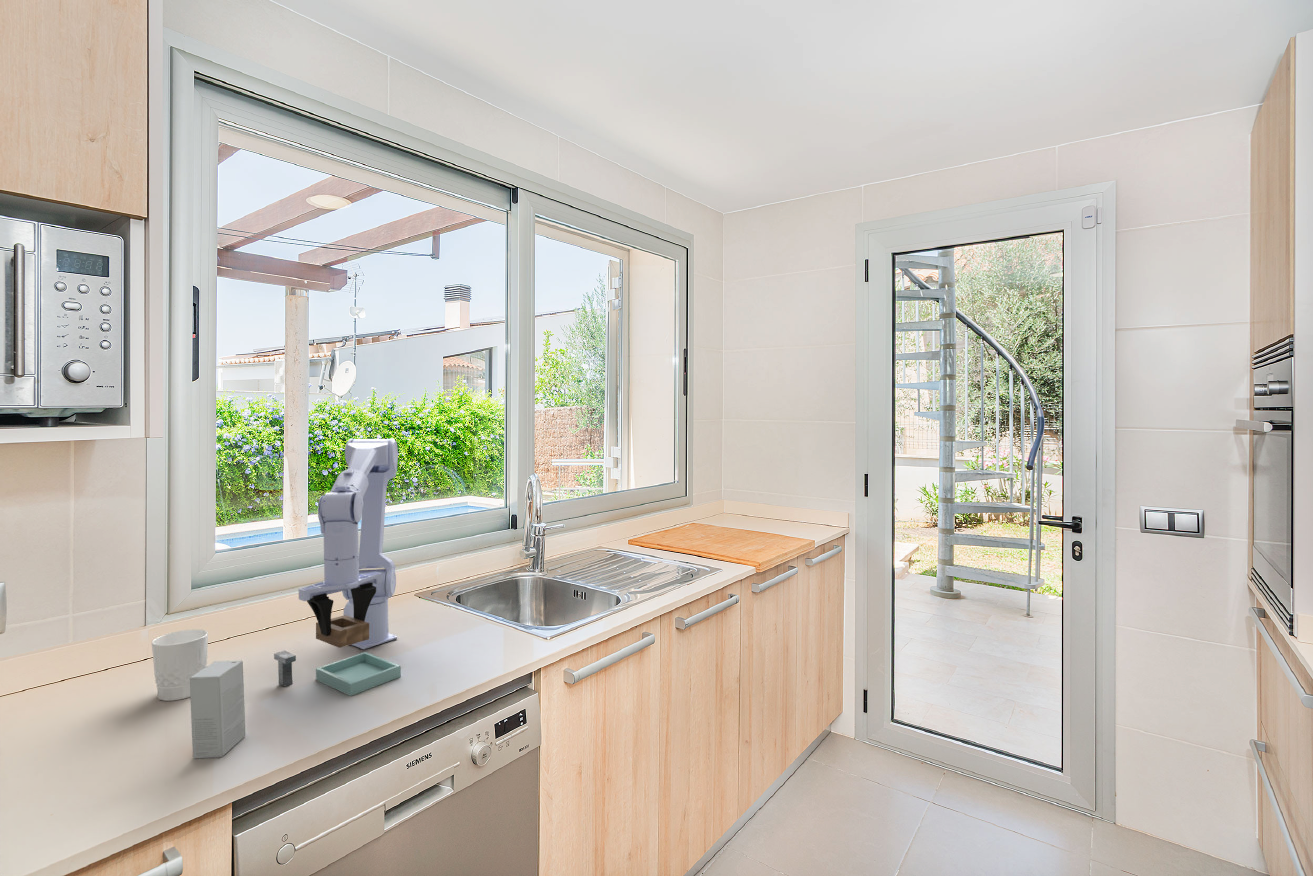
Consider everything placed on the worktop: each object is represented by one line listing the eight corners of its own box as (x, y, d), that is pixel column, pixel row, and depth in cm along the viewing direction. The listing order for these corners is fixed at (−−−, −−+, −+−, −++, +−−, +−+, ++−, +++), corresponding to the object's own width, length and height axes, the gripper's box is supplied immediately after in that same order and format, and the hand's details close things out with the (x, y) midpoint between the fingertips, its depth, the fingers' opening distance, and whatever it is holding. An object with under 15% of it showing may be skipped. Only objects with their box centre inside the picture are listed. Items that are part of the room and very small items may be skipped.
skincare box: (216, 737, 95) (214, 660, 94) (246, 736, 95) (244, 659, 94) (190, 759, 89) (188, 677, 88) (222, 758, 89) (219, 676, 88)
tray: (316, 679, 115) (315, 668, 115) (365, 662, 123) (365, 652, 123) (350, 696, 108) (350, 684, 108) (400, 676, 116) (400, 665, 116)
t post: (274, 683, 114) (274, 653, 113) (285, 679, 115) (284, 650, 115) (285, 688, 111) (285, 658, 111) (296, 685, 113) (295, 655, 112)
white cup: (147, 706, 104) (146, 648, 104) (159, 688, 111) (157, 633, 111) (205, 697, 108) (203, 640, 108) (213, 679, 115) (211, 626, 115)
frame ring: (339, 648, 110) (339, 631, 110) (315, 638, 115) (316, 622, 115) (369, 639, 115) (369, 623, 115) (345, 630, 119) (345, 615, 119)
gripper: (312, 568, 106) (313, 646, 107) (390, 552, 118) (391, 623, 118) (292, 562, 110) (293, 637, 111) (369, 547, 122) (370, 615, 123)
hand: (342, 629), depth 115 cm, fingers closed on frame ring, 6 cm apart
